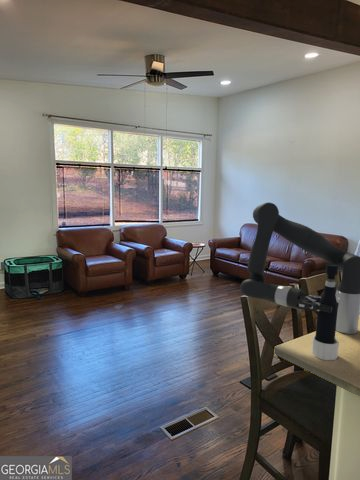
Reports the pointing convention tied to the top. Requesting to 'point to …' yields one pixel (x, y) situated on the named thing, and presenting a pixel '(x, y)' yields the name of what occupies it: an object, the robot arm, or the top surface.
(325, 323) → the black insulated water bottle
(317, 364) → the top surface
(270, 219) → the robot arm
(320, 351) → the ceramic cup
